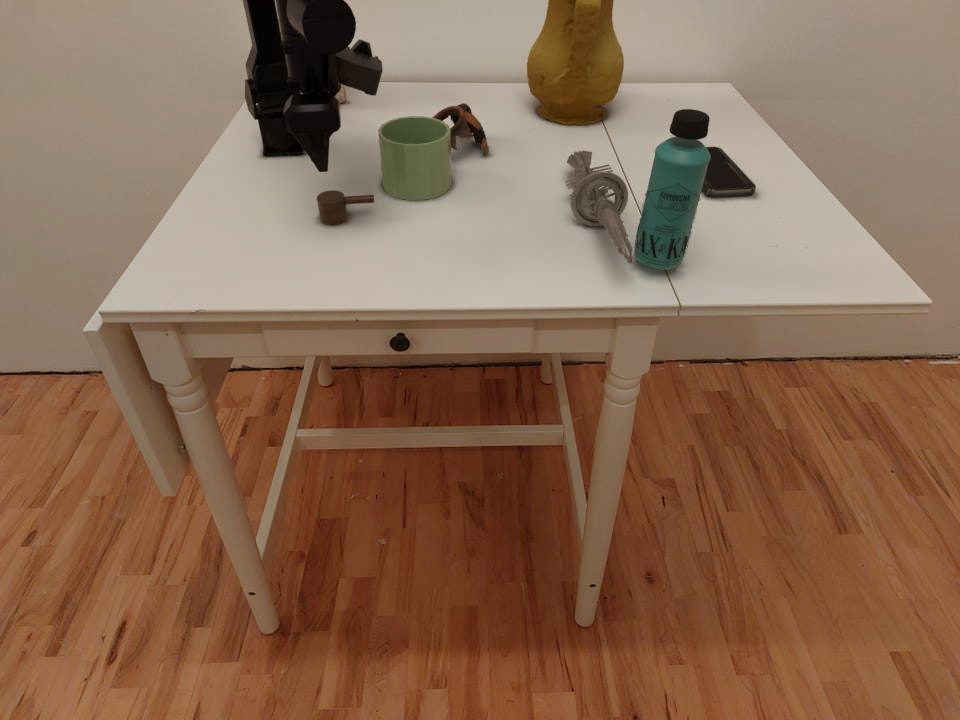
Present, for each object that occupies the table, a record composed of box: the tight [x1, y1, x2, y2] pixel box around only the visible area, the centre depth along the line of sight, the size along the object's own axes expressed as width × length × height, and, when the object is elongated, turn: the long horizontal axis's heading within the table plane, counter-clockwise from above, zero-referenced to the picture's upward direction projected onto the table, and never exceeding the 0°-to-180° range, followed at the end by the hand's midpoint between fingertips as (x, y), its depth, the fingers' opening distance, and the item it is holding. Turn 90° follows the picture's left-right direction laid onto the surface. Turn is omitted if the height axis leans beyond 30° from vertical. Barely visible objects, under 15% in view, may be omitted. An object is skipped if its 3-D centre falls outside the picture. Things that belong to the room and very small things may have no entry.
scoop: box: [316, 189, 375, 226], centre depth 93 cm, size 8×4×3 cm, turn 98°
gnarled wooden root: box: [432, 102, 489, 157], centre depth 110 cm, size 12×10×8 cm
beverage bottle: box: [633, 108, 711, 270], centre depth 80 cm, size 6×7×20 cm
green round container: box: [377, 115, 452, 201], centre depth 100 cm, size 10×10×8 cm
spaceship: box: [564, 150, 633, 264], centre depth 91 cm, size 8×35×8 cm
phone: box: [701, 146, 757, 198], centre depth 106 cm, size 8×1×15 cm
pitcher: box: [526, 0, 625, 126], centre depth 116 cm, size 17×19×25 cm
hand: (324, 155), depth 88 cm, fingers open, 9 cm apart
